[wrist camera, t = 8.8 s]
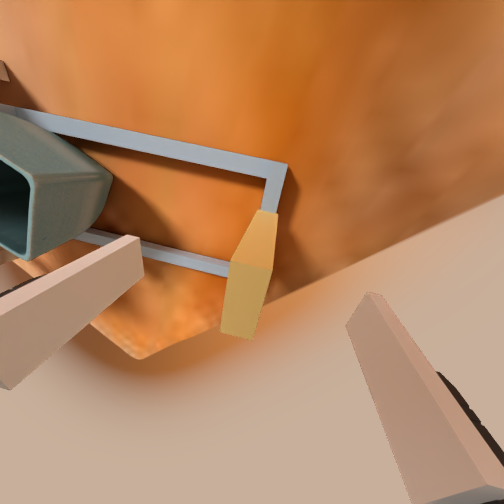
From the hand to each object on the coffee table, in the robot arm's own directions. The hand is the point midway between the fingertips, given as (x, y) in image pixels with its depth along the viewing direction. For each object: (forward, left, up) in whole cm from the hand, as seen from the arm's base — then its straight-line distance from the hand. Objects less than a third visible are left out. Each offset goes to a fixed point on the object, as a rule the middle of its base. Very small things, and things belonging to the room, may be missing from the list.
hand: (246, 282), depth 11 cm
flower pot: (-1, -21, -11) cm, 24 cm away
